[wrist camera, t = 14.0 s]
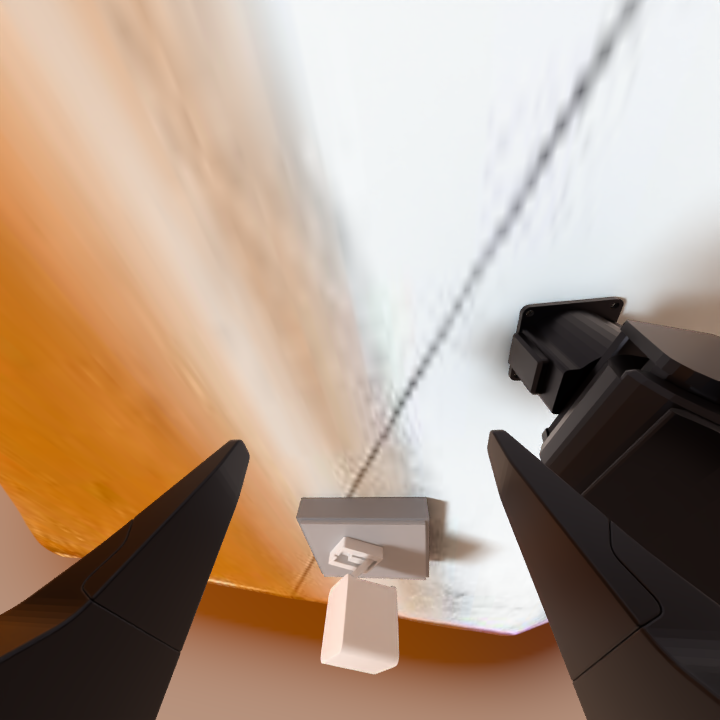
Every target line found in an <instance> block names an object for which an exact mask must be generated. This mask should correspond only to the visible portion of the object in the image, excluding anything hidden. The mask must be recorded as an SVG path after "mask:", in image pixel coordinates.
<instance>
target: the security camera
mask: <svg viewBox="0 0 720 720" xmlns="http://www.w3.org/2000/svg"><path fill="white" fill-rule="evenodd" d="M382 560H383V547H380V546H376V545H373V544H370V543H366V542H363V541H359V540H356V539H353V538H349V537H343V538H342V539H341V540H340V542H339V543H338V544H337V545H336V546H335V547H334V549H333V550H332V551H331V552H330V556H329V563H328V564H330V565H334V566H337V567H341V568H345V569H348V570H352V571H353V572H352V573H351V574H346V575H345V576H344V577H343V578H342V579H341V580H340V581H338V582H337V583H336V584H335V585H334V586H333V587H332V588H331V590H330V593H329V599H328V607H327V614H326V621H325V629H324V636H323V644H322V651H321V663H324V664H328V665H333V666H338V667H343V668H348V669H352V670H357V671H361V672H367V673H371V674H377V673H379V672H382V671H385V670H387V669H390V668H392V667H395V666H396V665H397V663H398V660H399V640H398V610H397V590H396V587H394V586H391V587H388V586H384V585H381V584H377V583H373V582H370V581H366V580H362V579H358V578H357V577H358V576H359V575H361V574H362V573H363V574H367V573H368V572H369V571H370V570H371V569H372V568H374V567H375V566H376V565H377V564H378V563H379V562H381V561H382Z"/></svg>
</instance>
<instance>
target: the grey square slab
mask: <svg viewBox="0 0 720 720" xmlns="http://www.w3.org/2000/svg"><path fill="white" fill-rule="evenodd" d="M296 518H297V521H298V523H299V525H300V527H301V529H302V531H303V533H304V536H305V538H306V540H307V542H308V544H309V546H310V548H311V551H312V553H313V555H314V557H315V559H316V561H317V563H318V565H319V568H320V570H321V572H322V574H323V575H324V577H344V576H345V575H346V574H351V573H352V572H353V571H352V570H348V569H345V568H341V567H337V566H334V565H330V564H328V563H329V556H330V552H331V551H332V550H333V549H334V547H335V546H336V545H337V544H338V543H339V542H340V540H341V539H342V538H343V537H349V538H353V539H356V540H359V541H363V542H366V543H370V544H373V545H376V546H380V547H383V560H382V561H381V562H379V563H378V564H377V565H376V566H375V567H374V568H372V569H371V570H370V571H369V572H368V573H367V574H363V573H362V574H361V575H359V576H358V577H357V578H383V579H413V580H426V577H429V513H428V506H427V498H426V497H407V498H301V501H300V505H299V509H298V513H297V516H296Z"/></svg>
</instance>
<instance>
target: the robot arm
mask: <svg viewBox="0 0 720 720" xmlns="http://www.w3.org/2000/svg"><path fill="white" fill-rule="evenodd" d="M614 303H615V304H614ZM612 304H614V306H612V307H611V305H612ZM622 307H623V301H622V300H621V299H619V298H617V297H610V298H599V299H588V300H577V301H566V302H555V303H544V304H533V305H526V306H524V307H523V308H522V309H521V311H520V315H519V321H518V326H517V331H516V333H515V334H514V335H513V339H512V344H511V349H510V355H509V360H508V363H509V364H510V368H509V373H508V375H509V377H510V378H511V379H512V380H514V381H518V380H521V381H522V382H523V383H524V385H525V386H526V388H527V389H528V390H529V392H531V393H532V394H533V395H539V396H540V398H541V399H542V400H543V402H544V403H545V404H546V406H547V407H548V408H549V410H550V411H551V412H552V413H553V414H559V415H558V416H557V418H556V419H555V420H554V422H553V423H552V424H551V426H550V427H549V428H546V429H545V430H544V432H543V433H542V439H543V444H542V447H541V450H540V459H541V461H540V460H539V459H538V458H537V457H536V456H534V455H533V454H532V453H531V452H530V451H528V450H527V449H526V448H525V447H524V446H523V445H521V444H520V443H519V442H518V441H517V440H515V439H514V438H513V437H512V436H511V435H509V434H508V433H507V432H506V431H504V430H491V431H490V434H489V440H488V446H487V449H488V455H489V459H490V462H491V466H492V470H493V473H494V477H495V481H496V484H497V488H498V492H499V495H500V498H501V501H502V504H503V507H504V509H505V512H506V514H507V517H508V519H509V522H510V524H511V527H512V529H513V532H514V535H515V537H516V540H517V542H518V545H519V547H520V550H521V552H522V555H523V557H524V560H525V563H526V565H527V568H528V570H529V573H530V575H531V578H532V580H533V583H534V585H535V588H536V591H537V593H538V596H539V598H540V601H541V603H542V606H543V608H544V611H545V613H546V616H547V619H548V621H549V623H550V626H551V629H552V631H553V634H554V636H555V639H556V641H557V644H558V646H559V649H560V652H561V654H562V657H563V659H564V662H565V664H566V667H567V669H568V672H569V675H570V677H571V679H572V680H573V685H574V688H575V690H576V693H577V695H578V698H579V700H580V703H581V706H582V708H583V711H584V713H585V716H586V718H587V720H720V337H719V336H716V335H712V334H708V333H702V332H696V331H690V330H684V329H679V328H673V327H667V326H661V325H655V324H649V323H644V322H638V321H632V320H626V321H625V323H624V324H623V326H622V325H620V324H619V323H617V319H618V317H619V314H620V312H621V309H622ZM529 310H531V313H529V314H527V315H526V313H527V312H528V311H529ZM514 374H517V375H514ZM249 458H250V456H249V452H248V450H247V448H246V446H245V444H244V443H243V441H242V440H230V441H228V442H227V443H226V444H225V445H223V446H222V447H221V448H220V449H219V450H217V451H216V452H215V453H214V454H212V455H211V456H210V457H209V458H207V459H206V460H205V461H204V462H202V463H201V464H200V465H199V466H198V467H196V468H195V469H194V470H193V471H191V472H190V473H189V474H188V475H186V476H185V477H184V478H183V479H181V480H180V481H179V482H178V483H176V484H175V485H174V486H173V487H172V488H170V489H169V490H168V491H167V492H165V493H164V494H163V495H162V496H160V497H159V498H158V499H157V500H155V501H154V502H153V503H152V504H151V505H149V506H148V507H147V508H146V509H144V510H143V511H142V512H141V513H139V514H138V515H137V516H136V517H135V518H134V519H132V520H131V521H129V522H128V523H127V524H126V525H124V526H123V527H122V528H121V529H120V530H118V531H117V532H116V533H114V534H113V535H112V536H111V537H109V538H108V539H107V540H106V541H104V542H103V543H102V544H100V545H99V546H98V547H96V548H95V549H94V550H92V551H91V552H90V553H88V554H87V555H86V556H84V557H83V558H82V559H80V560H79V561H78V562H77V563H75V564H74V565H72V566H71V567H69V568H68V569H67V570H65V571H64V572H63V573H61V574H60V575H59V576H58V577H56V578H54V579H53V580H52V581H50V582H49V583H48V584H46V585H45V586H44V587H42V588H41V589H40V590H38V591H37V592H35V593H34V594H33V595H31V596H30V597H28V598H27V599H26V600H24V601H23V602H21V603H20V604H18V605H17V606H15V607H13V608H12V609H10V610H8V611H6V612H5V613H3V614H1V615H0V720H155V719H156V717H157V714H158V712H159V709H160V706H161V704H162V701H163V698H164V695H165V693H166V690H167V688H168V685H169V683H170V680H171V677H172V675H173V672H174V669H175V667H176V664H177V661H178V659H179V656H180V651H181V650H182V648H183V645H184V642H185V640H186V637H187V634H188V632H189V629H190V626H191V624H192V621H193V619H194V616H195V613H196V610H197V608H198V605H199V603H200V600H201V597H202V595H203V592H204V590H205V587H206V584H207V582H208V579H209V576H210V574H211V571H212V568H213V566H214V563H215V560H216V558H217V555H218V553H219V550H220V547H221V545H222V542H223V539H224V537H225V534H226V531H227V529H228V526H229V523H230V521H231V518H232V515H233V513H234V510H235V508H236V505H237V502H238V499H239V496H240V492H241V489H242V485H243V481H244V478H245V474H246V470H247V467H248V463H249Z"/></svg>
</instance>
